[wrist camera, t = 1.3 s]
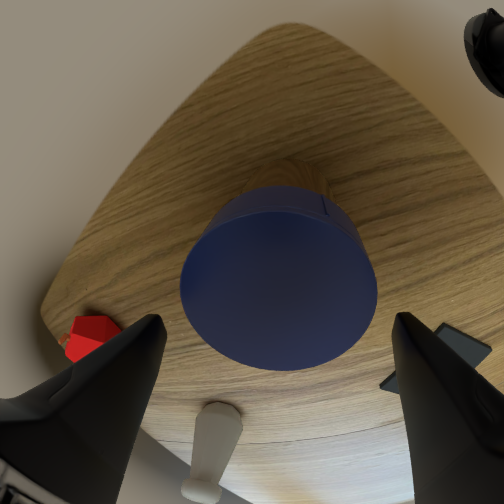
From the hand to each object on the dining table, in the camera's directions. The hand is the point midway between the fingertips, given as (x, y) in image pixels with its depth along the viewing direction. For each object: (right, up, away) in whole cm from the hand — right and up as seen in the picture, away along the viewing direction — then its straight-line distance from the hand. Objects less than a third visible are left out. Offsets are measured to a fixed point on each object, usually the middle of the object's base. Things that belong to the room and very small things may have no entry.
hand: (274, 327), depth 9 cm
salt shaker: (-4, -17, +24) cm, 30 cm away
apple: (-16, -6, +20) cm, 27 cm away
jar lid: (0, +1, +1) cm, 1 cm away
